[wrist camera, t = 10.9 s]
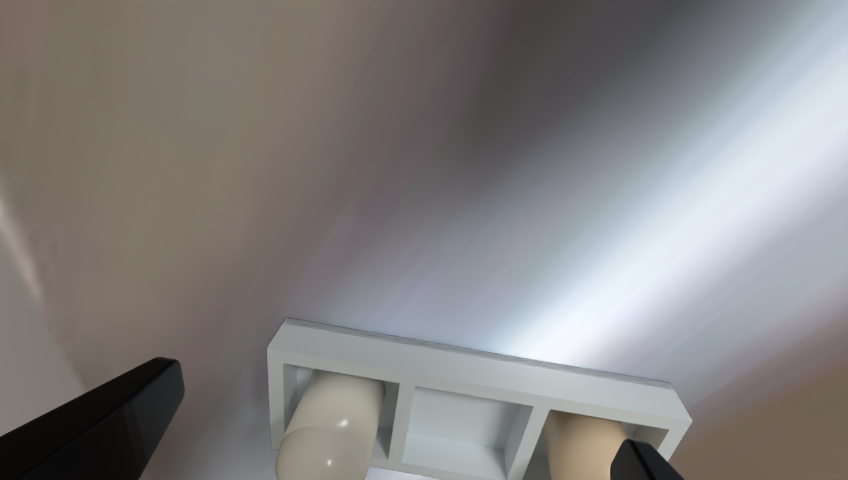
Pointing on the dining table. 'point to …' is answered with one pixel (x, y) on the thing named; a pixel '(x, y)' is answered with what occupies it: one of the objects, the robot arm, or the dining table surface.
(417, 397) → the divided compartment tray
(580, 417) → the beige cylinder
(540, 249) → the dining table surface
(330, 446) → the white capsule shape
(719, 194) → the dining table surface
